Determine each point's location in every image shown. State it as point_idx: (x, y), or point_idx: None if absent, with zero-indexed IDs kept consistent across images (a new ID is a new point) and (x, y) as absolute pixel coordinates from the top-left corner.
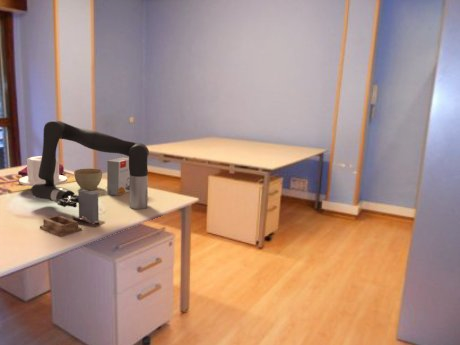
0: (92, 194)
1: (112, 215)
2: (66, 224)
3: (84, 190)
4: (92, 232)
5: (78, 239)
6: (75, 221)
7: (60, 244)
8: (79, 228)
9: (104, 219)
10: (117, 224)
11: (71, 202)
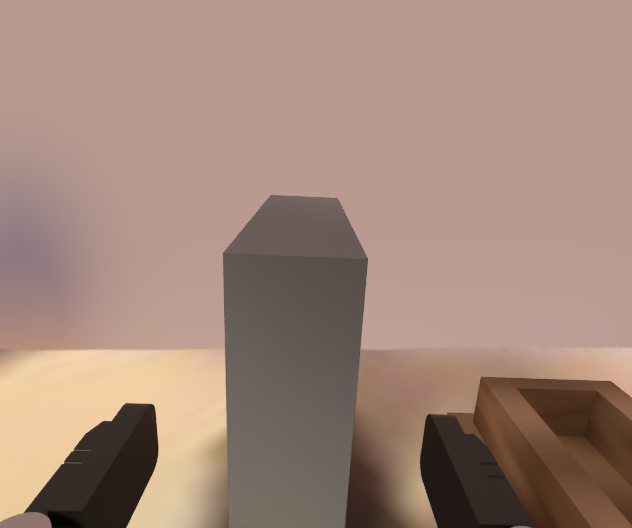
0: (334, 198)
1: (11, 505)
2: (578, 387)
3: (278, 236)
4: (405, 378)
5: (505, 366)
6: (499, 389)
7: (605, 374)
8: (466, 416)
9: (167, 476)
10: (221, 371)
11: (489, 499)
